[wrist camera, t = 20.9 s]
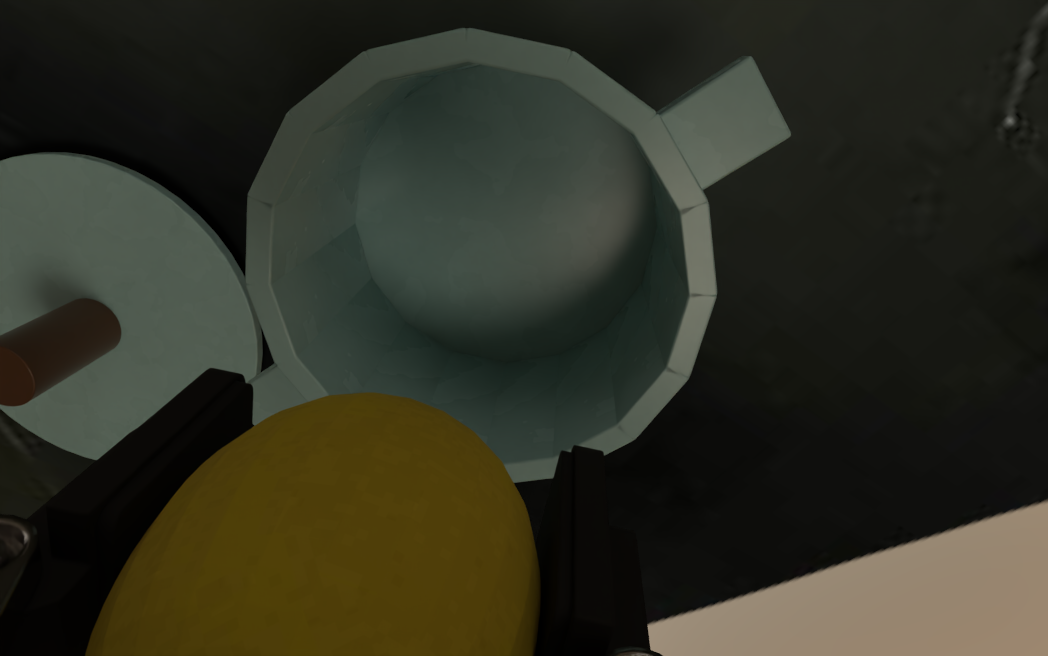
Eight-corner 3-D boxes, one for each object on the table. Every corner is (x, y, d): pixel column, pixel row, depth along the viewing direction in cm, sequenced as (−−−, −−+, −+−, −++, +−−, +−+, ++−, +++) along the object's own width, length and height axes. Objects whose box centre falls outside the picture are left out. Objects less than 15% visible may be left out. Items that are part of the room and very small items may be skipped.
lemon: (608, 463, 13) (655, 1033, 5) (415, 598, 14) (244, 1169, 7) (404, 257, 11) (80, 631, 4) (218, 433, 13) (-249, 921, 6)
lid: (-113, 268, 30) (-278, 318, 24) (96, 75, 26) (-43, 80, 20) (122, 497, 34) (30, 586, 28) (334, 362, 30) (276, 434, 24)
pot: (229, 209, 27) (89, 269, 19) (620, -92, 22) (643, -174, 14) (422, 445, 31) (370, 574, 23) (795, 235, 26) (889, 311, 18)
